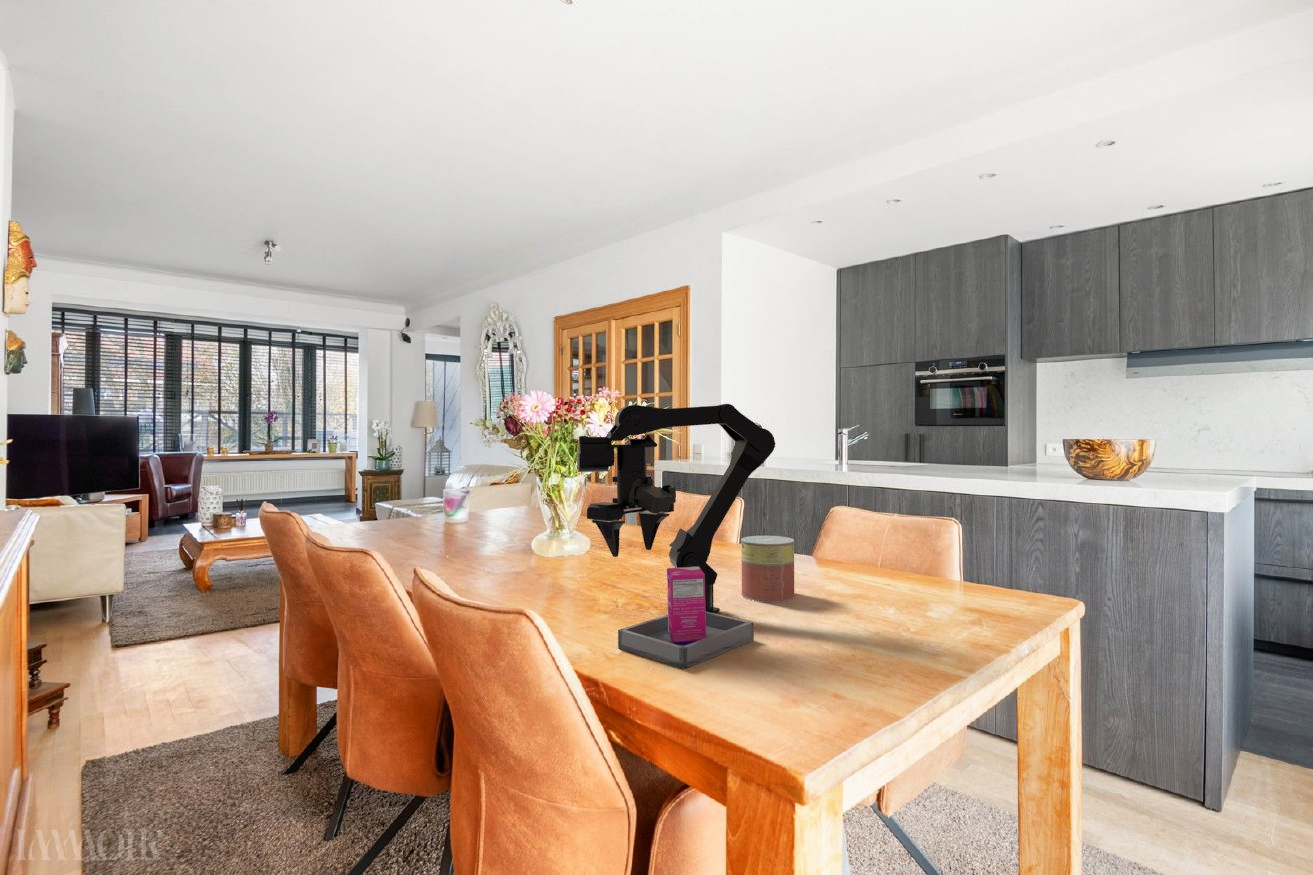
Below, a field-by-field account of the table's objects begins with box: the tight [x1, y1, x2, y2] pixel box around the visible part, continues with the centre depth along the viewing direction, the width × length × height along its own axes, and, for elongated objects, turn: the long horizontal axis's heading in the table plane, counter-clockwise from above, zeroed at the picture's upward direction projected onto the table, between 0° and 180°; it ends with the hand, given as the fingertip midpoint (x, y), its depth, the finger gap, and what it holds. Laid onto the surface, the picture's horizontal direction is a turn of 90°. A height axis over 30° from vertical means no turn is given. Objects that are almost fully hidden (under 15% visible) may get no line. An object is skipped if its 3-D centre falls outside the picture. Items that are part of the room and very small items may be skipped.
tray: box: [617, 612, 755, 670], centre depth 109 cm, size 18×14×3 cm
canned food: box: [740, 534, 796, 603], centre depth 140 cm, size 11×11×12 cm
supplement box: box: [666, 567, 706, 645], centre depth 108 cm, size 6×6×12 cm
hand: (632, 553), depth 125 cm, fingers open, 9 cm apart
